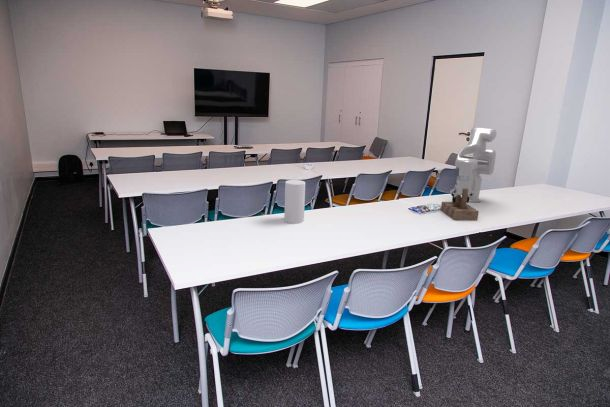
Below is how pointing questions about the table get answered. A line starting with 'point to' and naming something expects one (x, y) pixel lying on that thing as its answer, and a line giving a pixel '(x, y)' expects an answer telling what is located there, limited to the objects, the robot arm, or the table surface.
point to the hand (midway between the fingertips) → (460, 202)
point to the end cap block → (459, 211)
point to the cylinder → (294, 201)
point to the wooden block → (461, 200)
